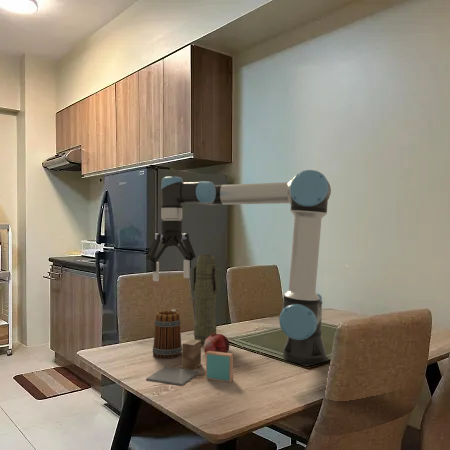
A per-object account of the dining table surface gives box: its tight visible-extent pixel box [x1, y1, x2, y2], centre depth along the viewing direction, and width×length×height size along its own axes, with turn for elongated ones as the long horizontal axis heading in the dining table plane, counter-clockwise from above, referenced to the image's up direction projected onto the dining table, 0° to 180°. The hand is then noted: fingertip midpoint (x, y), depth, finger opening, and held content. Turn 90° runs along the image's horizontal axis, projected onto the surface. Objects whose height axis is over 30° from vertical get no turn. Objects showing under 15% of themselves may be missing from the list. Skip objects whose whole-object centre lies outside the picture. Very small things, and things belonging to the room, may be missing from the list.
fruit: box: [203, 330, 230, 355], centre depth 154 cm, size 9×10×10 cm
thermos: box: [191, 253, 221, 345], centre depth 175 cm, size 9×12×35 cm
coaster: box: [146, 366, 200, 386], centre depth 134 cm, size 12×12×1 cm
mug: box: [152, 308, 182, 359], centre depth 159 cm, size 16×11×15 cm
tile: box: [205, 351, 234, 383], centre depth 132 cm, size 8×2×8 cm, turn 69°
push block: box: [181, 339, 202, 370], centre depth 144 cm, size 4×6×8 cm, turn 159°
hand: (171, 279), depth 156 cm, fingers open, 13 cm apart
